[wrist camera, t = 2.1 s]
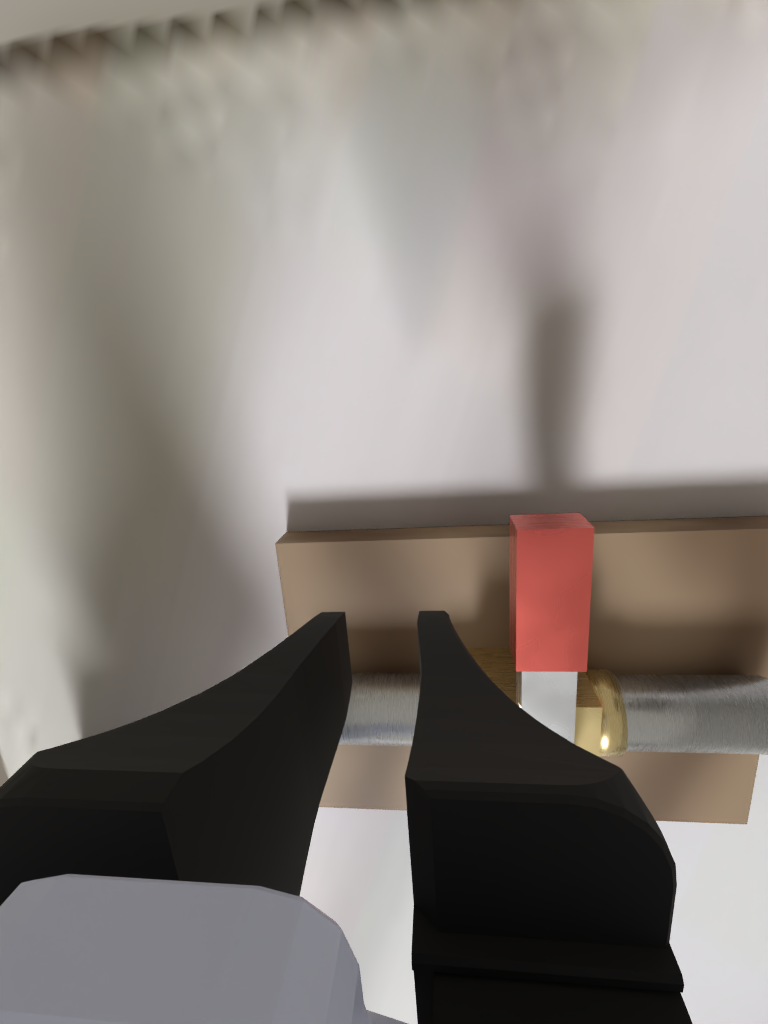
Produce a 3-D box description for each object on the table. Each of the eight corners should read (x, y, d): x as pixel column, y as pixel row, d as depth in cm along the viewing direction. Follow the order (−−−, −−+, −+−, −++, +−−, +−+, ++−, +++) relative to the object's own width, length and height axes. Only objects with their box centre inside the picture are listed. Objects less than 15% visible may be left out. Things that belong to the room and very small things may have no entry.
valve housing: (322, 720, 23) (299, 789, 19) (313, 645, 21) (287, 703, 18) (734, 727, 20) (801, 807, 17) (747, 644, 19) (822, 710, 15)
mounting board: (319, 781, 25) (312, 806, 24) (286, 532, 21) (275, 543, 20) (727, 795, 23) (747, 824, 21) (772, 515, 19) (799, 527, 18)
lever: (574, 793, 17) (587, 834, 15) (499, 790, 17) (505, 831, 16) (588, 510, 14) (606, 527, 13) (498, 513, 14) (505, 530, 13)
